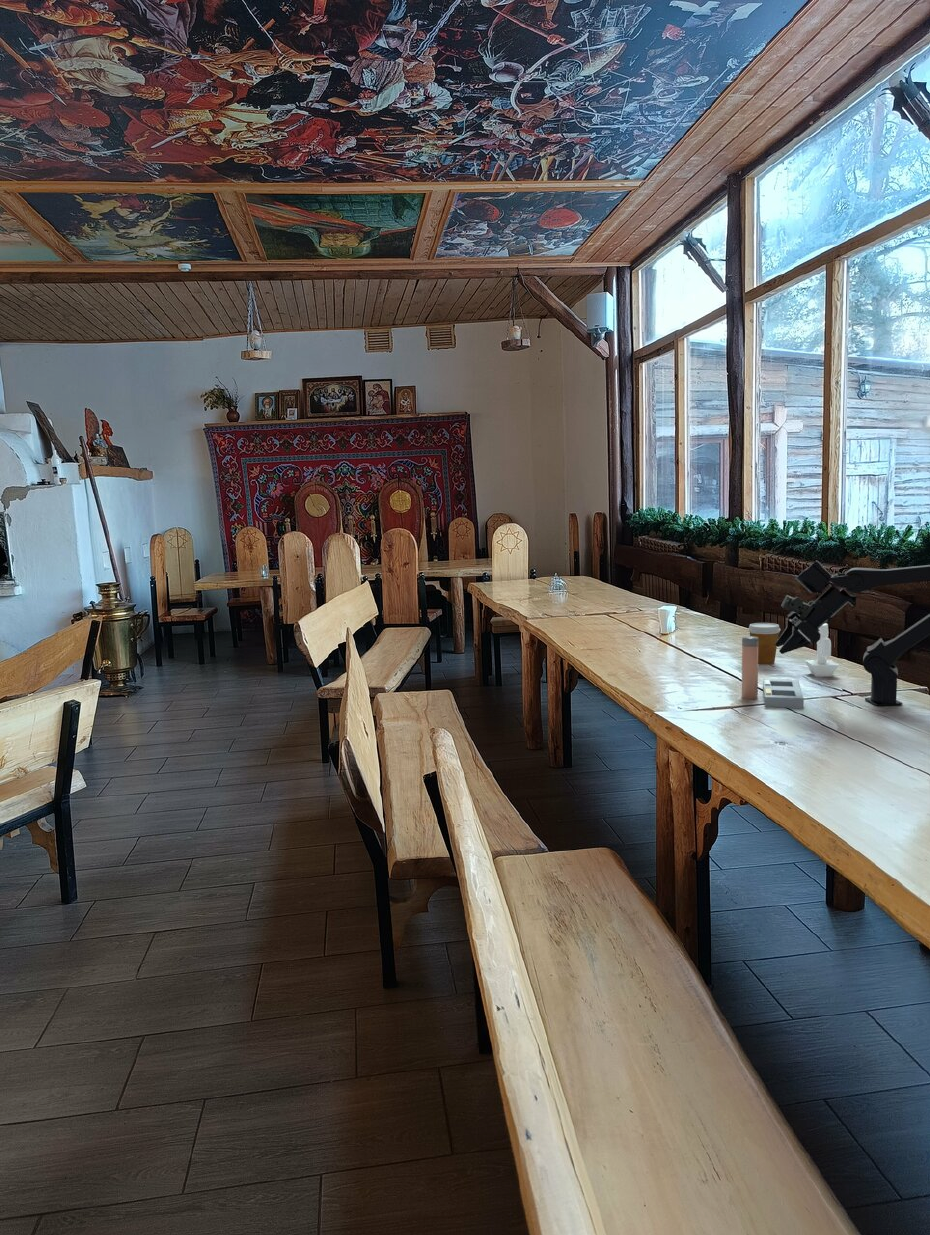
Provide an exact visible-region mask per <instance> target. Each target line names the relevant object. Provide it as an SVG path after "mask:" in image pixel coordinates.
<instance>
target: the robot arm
mask: <svg viewBox="0 0 930 1235" xmlns="http://www.w3.org/2000/svg"><path fill="white" fill-rule="evenodd" d="M795 580H796V581H797V582H799V583H800V584H801V585H802V586H803V587H804V588H805V589H806V590H807V591H808V592H809V593H811V595H812V594H813V593H815V594H818V595H819V594H820V593H821V592H822V591H824V590H825V589H826V588H827V587H829V586H830V587H829V588H827V589H826V590H825V591H824V592H823V593H822V594H820V596H818V597H817V598H816V599H815V600H810V601H808V603H807V602H804V599H802V598H800V597H798V596H795V597H792V596H790V595H788V594H786V595H785V597H784V598H783V600H782V601H781V602H782V603H781V605H780V607H782V609H784V610H785V611H786V610H787V611H790V612H789V614H787V617H786V627H785V628H784V630H783V631H782V633H781V634H780V635H779V636H778V640H777V642H776V643H775V645H776V646H777V648H779V647H780V648H779V650H778V651H779V653H780V654H781V655H783V654H785V653H789V652H793V651H795V650H798V649H801V648H804V647H807V646H808V647H809V646H812V645H813V644H814V645H815V644H817V642H818V641H819V640H820V633H819V632H818V631H819V628H820V627H821V626H822V625H823V624H825V623H826V624H827V622H831V621H832V620H833V618H832V617H834V616H835V615H836V614H837V613H838V612H839V611H840V610H842V609H843V608H844V606H846V605H847V604H850V605H851V606H852V607H857V599H858V596H857V595H852V594H853V593H854V594H855V593H861V592H866V591H870V590H874V589H877V588H880V587H883V586H889V585H900V584H903V585H904V584H912V583H923V582H930V564H926V565H917V566H916V565H915V566H906V567H905V566H904V567H898V568H897V567H895V568H886V569H885V568H881V569H880V568H873V567H872V568H871V567H852V568H849V569H848V570H847V571H846V572H842V573H841V572H840V573H837V572H836V573H835V574H831V573H830V571H828V570H827V569H826V568H825V567H824V566H823V565H822V563H821V562H819V560H815V561H814V562H813V563H812V564H811V565H809V567H806V568H805V569H804V570H803V571H802V572H800V573H799V575H798V576H796V577H795ZM838 586H839V587H842V588H841V589H839V588H837V587H838ZM849 592H850V593H849ZM851 593H852V594H851ZM928 636H930V613H929V614H927V615H926V616H925V617H922V618H921V619H920V620H919V621H917V622H915V623H914V624H913V625H911V626H910V627H908V628H906V630H903V632H901V633H899V634H898V635H896V636H895V638H892V639H890V640H886V641H884V640H883V638H882V637H880V638H879V639H878V640H876V641H875V643H873V644H872V645H869V646H867V647H866V651H865V652H864V654H863V658H862V659H863V660H862V666H863V668H864V671H866V672H867V673H868V674H870V675H871V678H870V679H871V680H870V681H871V682H870V683H871V684H870V685H871V686H870V696H869V697H867V696H866V697H865V698H864V700H865V701H867V702H869V703H870V704H873V705H874V706H878V707H879V706H901V705H903V704H904V703H903V702H902V701H899V700H897V695H898V694H897V691H898V676H899V673H898V670H899V669H898V667H897V666H896V665H895V663H896V661H898V659H899V658H901V656H902V655H903V654H904V653H905V652H906V651H908V650H910V649H911V648H912V647H914V646H916V645H917V644H918V643H920V642H921V641H922V640H924V639H926V638H927V637H928Z"/></svg>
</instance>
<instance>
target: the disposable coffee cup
mask: <svg viewBox="0 0 930 1235" xmlns="http://www.w3.org/2000/svg"><path fill="white" fill-rule="evenodd" d="M747 630H748V632H749V636H753V637H758V665H763V666H765V665H766V666H767V665H773V664H775V662H776V661H775V660H776V653H777V648H778V647H777V646H776V645H775V643H776V642H777V640H778V639H779V636H780V635H779V634H780V632H781V628H780V625H779V623H778V624H777V623H773V622H755V623H750V624H749V626H748V628H747Z"/></svg>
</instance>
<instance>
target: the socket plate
mask: <svg viewBox="0 0 930 1235" xmlns="http://www.w3.org/2000/svg"><path fill="white" fill-rule="evenodd" d="M800 684H801V683H800V680H799V679H780V678H779V679H775V678H772V679H771V678H763V680H762V690H763V699H764V700H763V703H764V708H765V707H766V708H791V709H804V707H805V706H804V704H805V702H804V701H805V700H804V699H805V698H804V694H803V691H802V688H801V685H800Z"/></svg>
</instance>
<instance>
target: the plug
mask: <svg viewBox="0 0 930 1235" xmlns="http://www.w3.org/2000/svg"><path fill="white" fill-rule="evenodd" d="M758 691H759V664H758V637H753V636H750V635H749V636H748V635H747V636H742V637H741V698H742V699H745V700H756V699H758V698H759V696H758V695H759V694H758V693H759V692H758Z"/></svg>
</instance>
